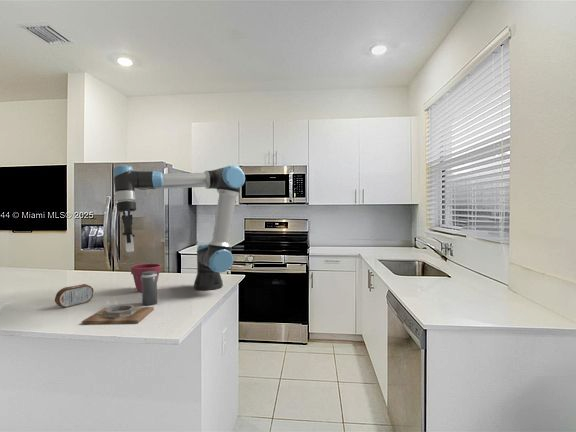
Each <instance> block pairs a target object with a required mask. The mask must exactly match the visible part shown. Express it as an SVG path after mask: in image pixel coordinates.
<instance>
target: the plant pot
mask: <svg viewBox="0 0 576 432" xmlns="http://www.w3.org/2000/svg"><path fill="white" fill-rule="evenodd" d="M130 267H131V268H130V274H131V275H132V277H133V280H134V285H135V289H136V292H139V293H142V273H143V272H147V271H156V272H157V282H158V280H159V275H160V273H161V272H162V265H161V264H159V263H139V264H134V265H131V266H130Z"/></svg>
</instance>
